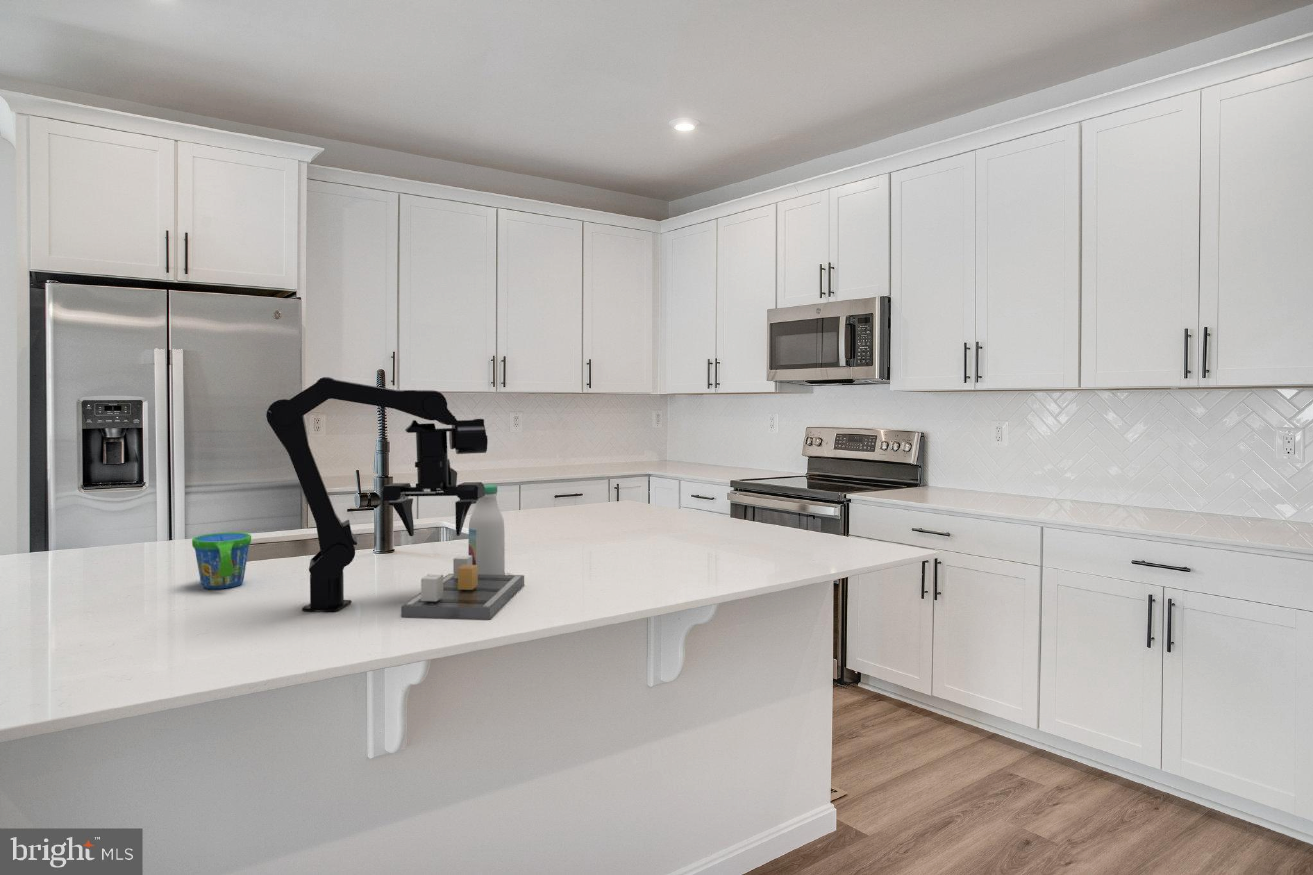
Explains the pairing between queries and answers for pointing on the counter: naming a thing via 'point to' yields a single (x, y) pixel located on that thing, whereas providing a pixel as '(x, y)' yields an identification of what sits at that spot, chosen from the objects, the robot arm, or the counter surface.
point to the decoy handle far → (460, 563)
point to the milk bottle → (487, 534)
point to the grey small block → (431, 587)
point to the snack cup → (221, 559)
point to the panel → (467, 598)
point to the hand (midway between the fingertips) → (435, 535)
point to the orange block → (467, 577)
